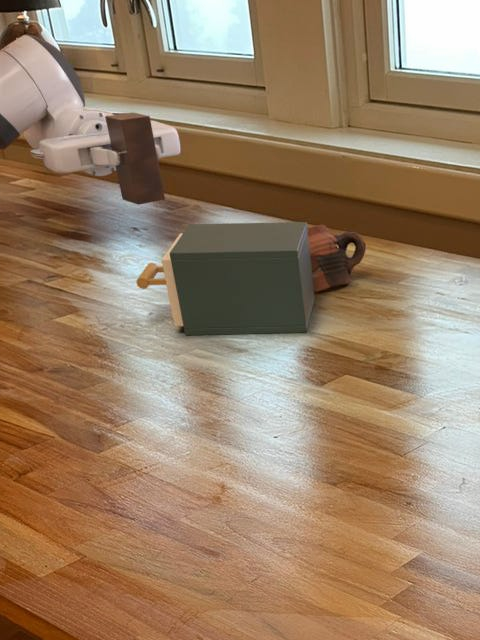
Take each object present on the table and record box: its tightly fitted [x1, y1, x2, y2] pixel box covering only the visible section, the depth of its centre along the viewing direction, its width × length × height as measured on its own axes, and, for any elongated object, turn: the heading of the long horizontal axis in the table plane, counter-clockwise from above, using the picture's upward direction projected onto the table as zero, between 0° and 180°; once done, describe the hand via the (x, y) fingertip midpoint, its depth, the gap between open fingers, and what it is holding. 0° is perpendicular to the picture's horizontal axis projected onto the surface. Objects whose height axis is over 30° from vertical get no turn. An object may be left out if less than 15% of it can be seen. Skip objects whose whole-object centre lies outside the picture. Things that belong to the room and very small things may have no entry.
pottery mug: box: [307, 224, 367, 293], centre depth 132 cm, size 12×10×8 cm
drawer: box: [136, 232, 184, 327], centre depth 118 cm, size 18×11×8 cm, turn 93°
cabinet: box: [169, 221, 316, 336], centre depth 119 cm, size 15×13×10 cm
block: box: [105, 112, 166, 206], centre depth 139 cm, size 4×4×11 cm
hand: (138, 155), depth 138 cm, fingers closed on block, 4 cm apart
